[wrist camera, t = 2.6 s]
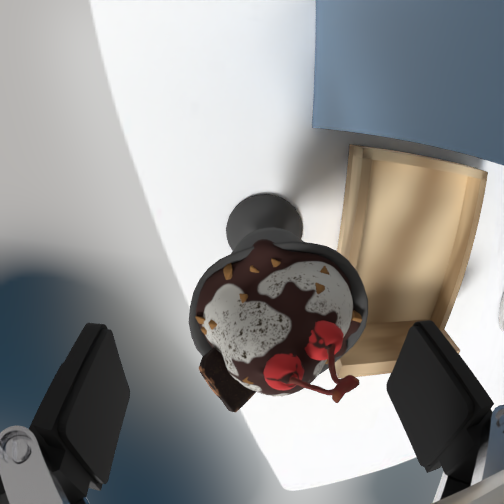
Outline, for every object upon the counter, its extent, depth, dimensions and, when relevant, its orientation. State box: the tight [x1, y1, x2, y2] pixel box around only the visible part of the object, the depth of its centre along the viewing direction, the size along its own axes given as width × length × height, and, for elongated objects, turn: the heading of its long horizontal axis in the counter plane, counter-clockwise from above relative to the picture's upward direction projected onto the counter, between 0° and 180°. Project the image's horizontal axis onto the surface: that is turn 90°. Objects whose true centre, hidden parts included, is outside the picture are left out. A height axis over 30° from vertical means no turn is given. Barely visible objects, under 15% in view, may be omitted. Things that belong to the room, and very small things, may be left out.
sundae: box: [189, 194, 368, 412], centre depth 13 cm, size 7×7×15 cm
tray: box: [335, 144, 488, 378], centre depth 18 cm, size 10×14×5 cm
